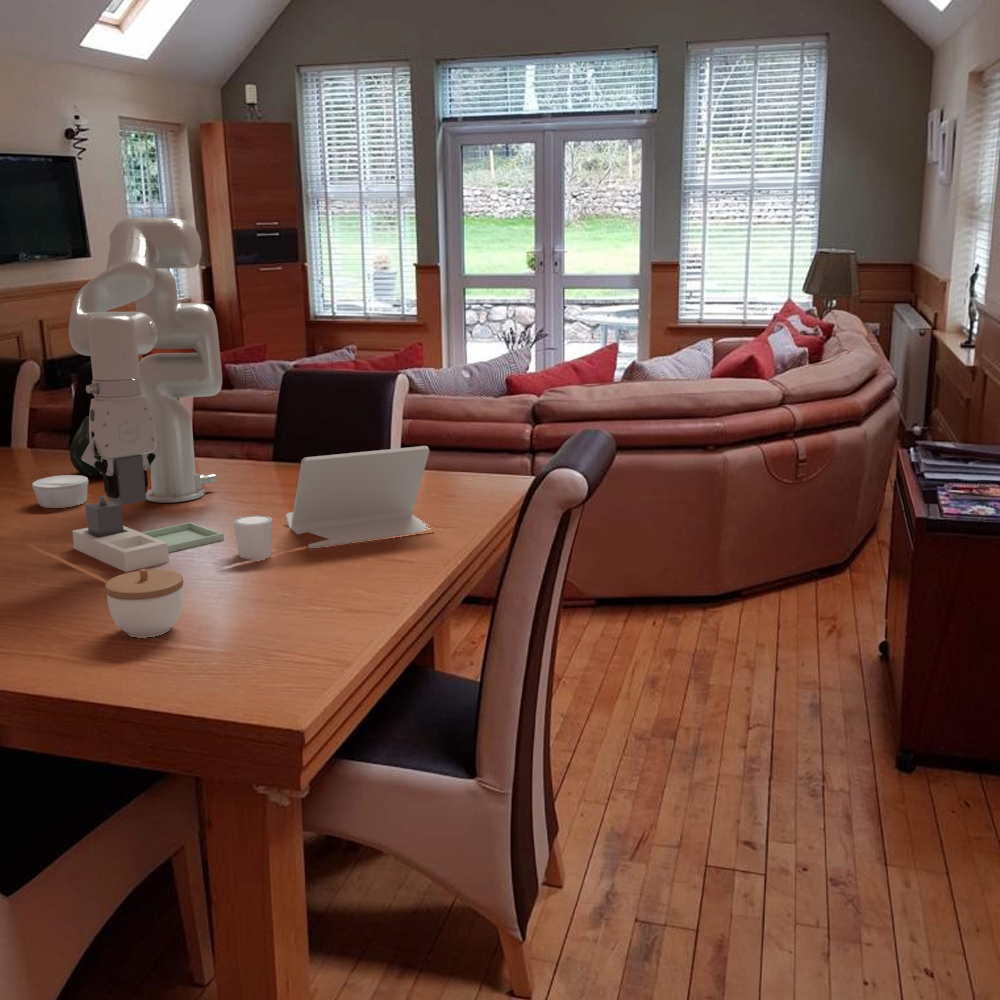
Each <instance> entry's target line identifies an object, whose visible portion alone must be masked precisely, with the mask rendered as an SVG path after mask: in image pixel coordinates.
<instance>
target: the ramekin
mask: <svg viewBox="0 0 1000 1000" xmlns="http://www.w3.org/2000/svg"><path fill="white" fill-rule="evenodd" d="M88 485H89V479H88V477H87V476H84V475H74V474H73V475H72V474H67V475H65V474H64V475H63V474H62V475H53V476H48V477H44V478H39V479H36V480H35V481H33V482H32V489H33V490H34V493H35V498H36V501H37V503H38V504H39V506H40V507H41V506H42V507H41V508H43V507H45V508H44V509H46V508H64V509H66V508H65V507H71V506H76V505H79V506H81V505H80V504H82V505H83V504H85V503H86V501H87V498H88ZM76 507H77V506H76ZM71 508H72V507H71Z"/></svg>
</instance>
